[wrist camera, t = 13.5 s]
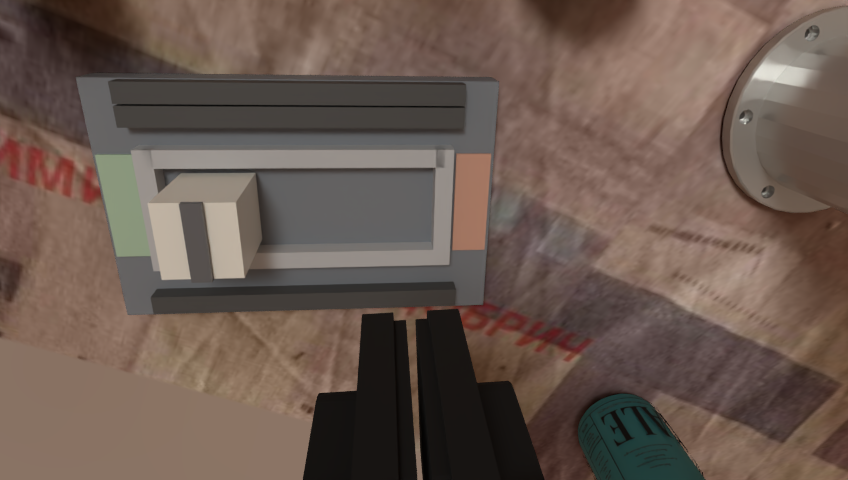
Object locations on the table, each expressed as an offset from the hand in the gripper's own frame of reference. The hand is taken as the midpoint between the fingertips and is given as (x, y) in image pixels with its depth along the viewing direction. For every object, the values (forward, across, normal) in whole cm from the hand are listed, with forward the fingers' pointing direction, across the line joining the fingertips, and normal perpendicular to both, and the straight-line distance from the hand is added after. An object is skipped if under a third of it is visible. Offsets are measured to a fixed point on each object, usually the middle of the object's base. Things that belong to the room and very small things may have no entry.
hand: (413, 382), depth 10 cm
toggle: (+22, +10, +4) cm, 25 cm away
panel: (+24, +5, +4) cm, 25 cm away
